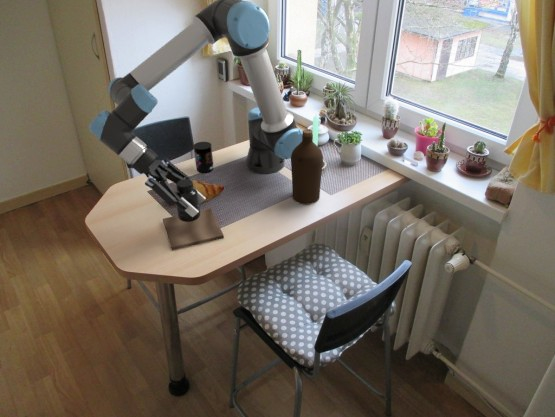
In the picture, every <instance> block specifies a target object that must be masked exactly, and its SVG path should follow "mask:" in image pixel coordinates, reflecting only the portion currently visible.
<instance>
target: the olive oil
mask: <svg viewBox="0 0 555 417" xmlns="http://www.w3.org/2000/svg"><path fill="white" fill-rule="evenodd" d="M302 132H303V134H302V142H301V143H300V144H299V145H298V146H296V147H295V148H294V150H293V152H292V155H291V159H290V166H291V167H290V170H291V186H292V192H291V193H292V194H291V195H292V199H293V201H294V202H296V203H298V204H302V205H311V204H312V205H313V204H315V203H317V202H319V200H320V197H321V183H322V173H323V164H324V162H323V161H324V156H323V151H322V150H321V148H320V147H319V146H318V145H317V144H316V143H315V142H314V139H313V138H314V136H313V135H314V134H313V132H314V131H313V129H309V128H307V129H303V130H302Z"/></svg>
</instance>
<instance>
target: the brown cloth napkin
mask: <svg viewBox="0 0 555 417" xmlns="http://www.w3.org/2000/svg"><path fill="white" fill-rule="evenodd" d="M162 222H163V227H164V229H165V232H166V237H167V240H168V243H169V247H170V249H171V251H176V250H180V249H185V248H189V247H192V246H196V245H200V244H201V245H202V244H205V243H209V242H214V241H218V240H223V239H225V235H224V233H223V231H222V229H221V227H220V224H219V223H218V221H217V218H216V216H215V215H214V212H213V209H212V208H205V209H200V216H199V218H198V219H197V220H195V221H192V222H184V221H181V220H180V219H179V217H178V214H177V215H173V216H169V217H164V218H162Z"/></svg>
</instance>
